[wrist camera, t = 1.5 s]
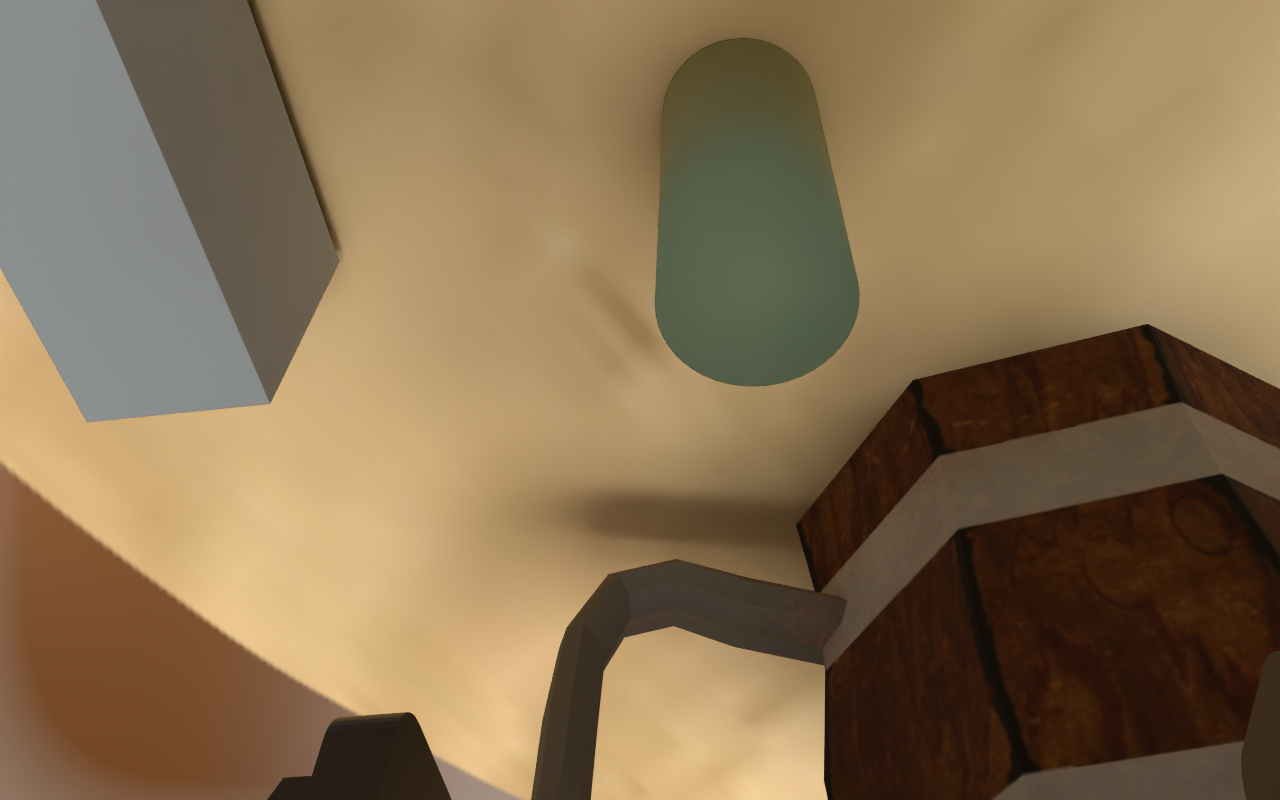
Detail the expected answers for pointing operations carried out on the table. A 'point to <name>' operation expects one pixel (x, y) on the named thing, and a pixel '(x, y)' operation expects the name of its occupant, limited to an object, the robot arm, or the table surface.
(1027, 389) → the mug
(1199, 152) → the table surface
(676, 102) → the dowel leg
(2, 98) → the hinged leg
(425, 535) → the table surface
